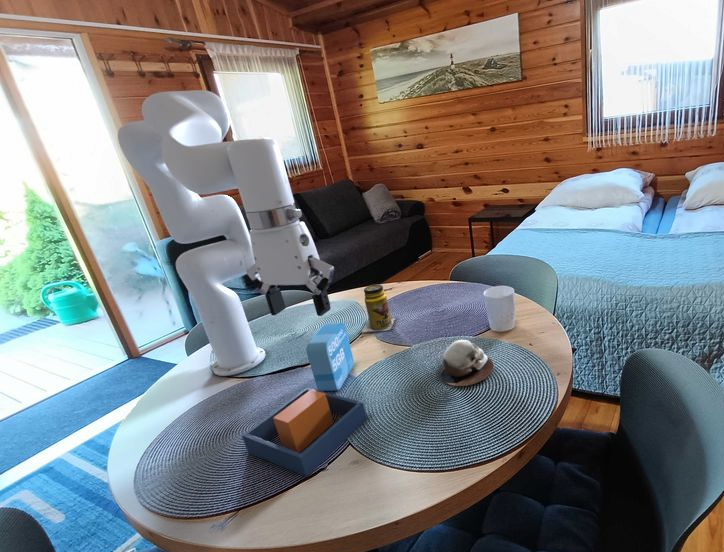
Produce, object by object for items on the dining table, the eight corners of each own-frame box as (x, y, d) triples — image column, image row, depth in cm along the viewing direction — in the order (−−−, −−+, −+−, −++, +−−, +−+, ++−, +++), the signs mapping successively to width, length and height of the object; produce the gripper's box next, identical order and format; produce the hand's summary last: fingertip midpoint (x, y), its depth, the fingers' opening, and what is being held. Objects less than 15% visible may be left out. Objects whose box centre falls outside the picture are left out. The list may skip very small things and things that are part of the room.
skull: (472, 345, 105) (485, 326, 96) (492, 383, 101) (507, 367, 93) (428, 361, 99) (438, 343, 91) (447, 403, 95) (459, 388, 87)
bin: (248, 452, 80) (241, 435, 79) (311, 402, 93) (306, 387, 91) (306, 476, 73) (300, 458, 71) (367, 418, 85) (362, 402, 84)
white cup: (504, 316, 120) (501, 283, 116) (523, 325, 114) (520, 290, 110) (481, 326, 116) (477, 292, 112) (500, 336, 110) (496, 300, 106)
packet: (283, 448, 80) (272, 417, 77) (319, 418, 87) (310, 389, 85) (298, 454, 78) (287, 422, 75) (333, 422, 85) (325, 393, 83)
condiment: (390, 330, 121) (382, 290, 116) (360, 333, 121) (351, 293, 117) (395, 318, 127) (387, 281, 123) (367, 321, 128) (358, 284, 124)
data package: (338, 393, 95) (325, 345, 90) (318, 394, 95) (304, 347, 91) (354, 363, 106) (344, 319, 101) (337, 364, 106) (325, 321, 102)
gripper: (331, 209, 71) (354, 303, 78) (248, 215, 77) (275, 303, 83) (303, 221, 65) (331, 323, 71) (214, 226, 70) (247, 321, 76)
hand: (301, 312), depth 77 cm, fingers open, 9 cm apart
